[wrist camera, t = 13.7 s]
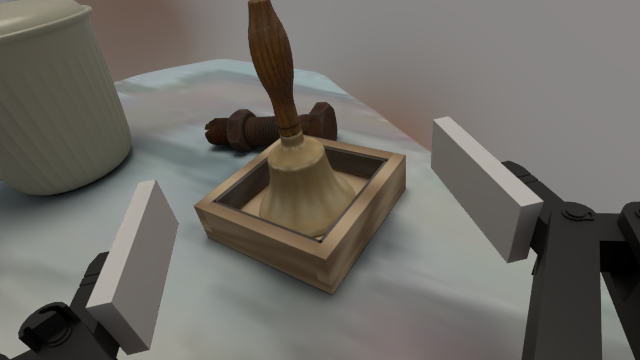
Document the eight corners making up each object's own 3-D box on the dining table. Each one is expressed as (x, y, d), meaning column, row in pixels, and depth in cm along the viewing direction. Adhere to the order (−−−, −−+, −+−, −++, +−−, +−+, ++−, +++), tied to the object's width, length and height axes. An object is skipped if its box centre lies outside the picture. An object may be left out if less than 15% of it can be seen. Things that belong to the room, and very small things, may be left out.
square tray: (332, 294, 24) (325, 259, 22) (208, 237, 30) (193, 206, 28) (405, 188, 32) (405, 155, 30) (294, 160, 38) (288, 131, 36)
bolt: (224, 155, 45) (337, 156, 40) (198, 157, 41) (322, 158, 36) (222, 108, 45) (337, 103, 40) (196, 105, 40) (322, 99, 35)
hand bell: (266, 252, 26) (188, 26, 17) (254, 189, 33) (194, 2, 24) (371, 221, 27) (352, -8, 18) (339, 166, 34) (313, -22, 25)
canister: (-47, 226, 37) (-268, 9, 25) (59, 140, 52) (-48, -24, 40) (112, 210, 35) (-43, -32, 23) (177, 125, 50) (102, -51, 38)
